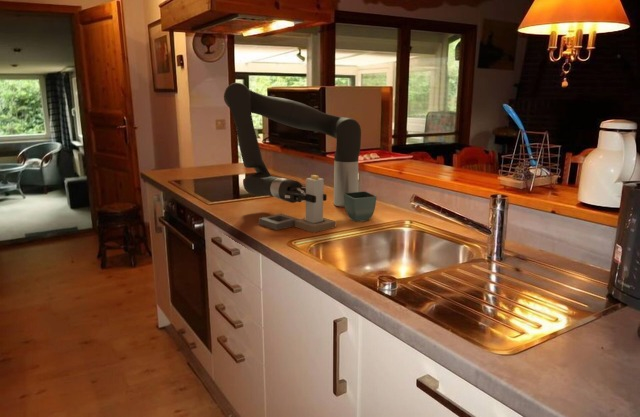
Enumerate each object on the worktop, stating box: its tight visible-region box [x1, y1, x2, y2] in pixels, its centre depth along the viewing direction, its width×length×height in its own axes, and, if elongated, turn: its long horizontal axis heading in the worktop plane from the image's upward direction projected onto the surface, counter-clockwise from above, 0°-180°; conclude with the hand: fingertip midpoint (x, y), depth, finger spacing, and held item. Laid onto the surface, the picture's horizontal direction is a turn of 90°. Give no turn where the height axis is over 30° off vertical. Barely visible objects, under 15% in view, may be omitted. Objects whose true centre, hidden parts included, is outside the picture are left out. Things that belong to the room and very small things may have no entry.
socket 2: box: [293, 217, 337, 233], centre depth 158 cm, size 10×10×2 cm
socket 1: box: [258, 213, 300, 231], centre depth 161 cm, size 10×10×2 cm
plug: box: [305, 174, 325, 223], centre depth 156 cm, size 4×4×15 cm
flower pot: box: [343, 190, 378, 223], centre depth 166 cm, size 9×9×9 cm
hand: (320, 198), depth 154 cm, fingers closed on plug, 4 cm apart
